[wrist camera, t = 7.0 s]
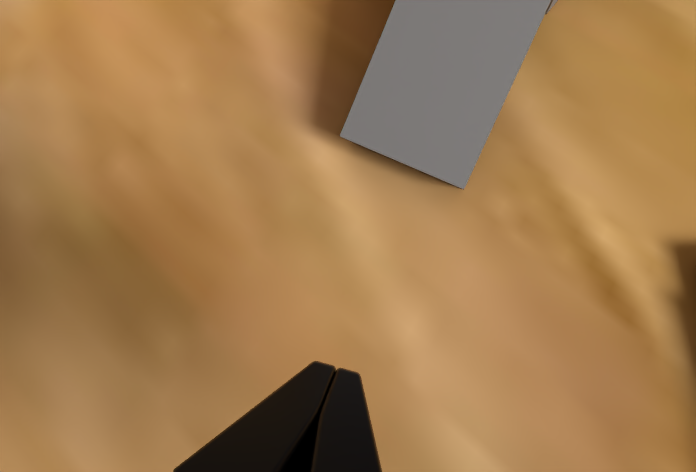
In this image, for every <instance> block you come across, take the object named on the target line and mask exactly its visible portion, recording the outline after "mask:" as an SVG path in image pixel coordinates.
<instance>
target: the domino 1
mask: <svg viewBox="0 0 696 472" xmlns="http://www.w3.org/2000/svg"><path fill="white" fill-rule="evenodd" d="M550 2H551V0H396V1H395V3H394V5H393V8H392V10H391V13H390V15H389V18H388V20H387V22H386V25H385V27H384V30H383V32H382V34H381V37H380V39H379V42H378V44H377V47H376V49H375V51H374V54H373V56H372V59H371V61H370V64H369V66H368V68H367V71H366V73H365V76H364V78H363V81H362V83H361V85H360V88H359V90H358V93H357V95H356V98H355V100H354V102H353V105H352V107H351V110H350V112H349V115H348V117H347V119H346V122H345V124H344V127H343V129H342V131H341V134H340V137H343V138H345V139H347V140H349V141H351V142H354V143H356V144H358V145H361V146H363V147H365V148H368V149H370V150H372V151H375V152H377V153H379V154H382V155H384V156H386V157H389V158H391V159H393V160H396V161H398V162H400V163H403V164H405V165H407V166H410V167H412V168H414V169H417V170H419V171H421V172H424V173H426V174H428V175H431V176H433V177H435V178H438V179H440V180H442V181H445V182H447V183H449V184H452V185H454V186H456V187H459V188H461V189H463V190H464V188H465V186H466V184H467V182H468V180H469V177H470V175H471V173H472V171H473V169H474V167H475V164H476V162H477V160H478V158H479V156H480V154H481V151H482V149H483V147H484V145H485V143H486V140H487V138H488V136H489V134H490V132H491V130H492V127H493V125H494V123H495V121H496V119H497V117H498V114H499V112H500V110H501V108H502V106H503V104H504V101H505V99H506V97H507V95H508V93H509V91H510V88H511V86H512V84H513V82H514V80H515V78H516V75H517V73H518V71H519V69H520V67H521V65H522V62H523V60H524V58H525V56H526V54H527V52H528V49H529V47H530V45H531V43H532V41H533V39H534V36H535V34H536V32H537V30H538V28H539V26H540V23H541V21H542V19H543V17H544V15H545V12H546V10H547V8H548V6H549V4H550Z"/></svg>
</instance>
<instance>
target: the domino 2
mask: <svg viewBox="0 0 696 472" xmlns="http://www.w3.org/2000/svg"><path fill="white" fill-rule="evenodd" d="M557 1H558V0H551V2H550V4H549V6H548V8H547V10H546V12H545V14H547V13H548V12H549V10H550V9H551V8H552V7H553V5H554V4H555V3H556V2H557Z"/></svg>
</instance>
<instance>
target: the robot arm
mask: <svg viewBox="0 0 696 472" xmlns="http://www.w3.org/2000/svg"><path fill="white" fill-rule="evenodd" d="M173 472H382V469H381V465H380V460H379V456H378V451H377V447H376V442H375V438H374V433H373V429H372V425H371V420H370V416H369V411H368V407H367V402H366V398H365V393H364V389H363V384H362V380H361V376H360V374H359V373H357V372H354V371H350V370H347V369H343V368H338V369H337V370H336V368H335V366H333V365H329V364H326V363H322V362H319V361H314V362H312V363H311V364H309V365H308V366H307V367H306V368H304V369H303V370H302V371H300V372H299V373H298V374H296V375H295V376H294V377H293V378H291V379H290V380H289V381H287V382H286V383H285V384H284V385H282V386H281V387H280V388H278V389H277V390H276V391H274V392H273V393H272V394H271V395H269V396H268V397H267V398H265V399H264V400H263V401H262V402H260V403H259V404H258V405H256V406H255V407H254V408H253V409H251V410H250V411H249V412H247V413H246V414H245V415H243V416H242V417H241V418H240V419H238V420H237V421H236V422H234V423H233V424H232V425H231V426H229V427H228V428H227V429H225V430H224V431H223V432H221V433H220V434H219V435H218V436H216V437H215V438H214V439H212V440H211V441H210V442H209V443H207V444H206V445H205V446H203V447H202V448H201V449H200V450H198V451H197V452H196V453H194V454H193V455H192V456H190V457H189V458H188V459H187V460H185V461H184V462H183V463H181V464H180V465H179V466H178V467H176V468H175V469H174V470H173Z"/></svg>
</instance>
